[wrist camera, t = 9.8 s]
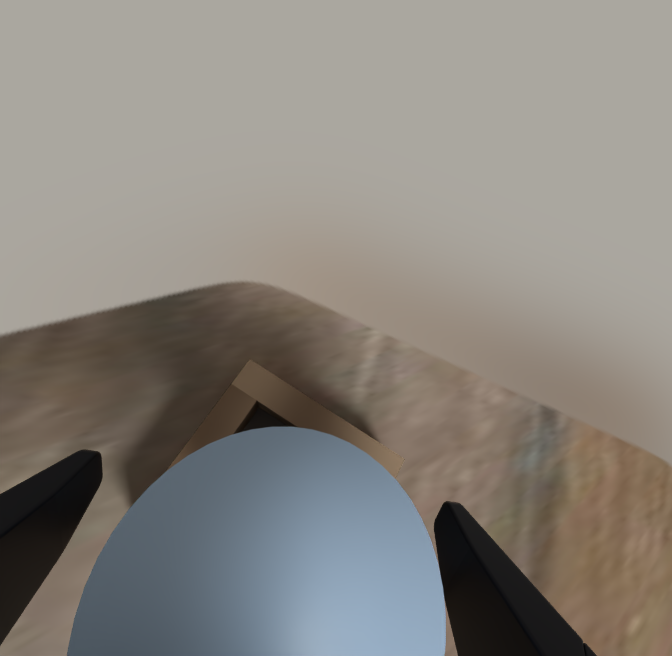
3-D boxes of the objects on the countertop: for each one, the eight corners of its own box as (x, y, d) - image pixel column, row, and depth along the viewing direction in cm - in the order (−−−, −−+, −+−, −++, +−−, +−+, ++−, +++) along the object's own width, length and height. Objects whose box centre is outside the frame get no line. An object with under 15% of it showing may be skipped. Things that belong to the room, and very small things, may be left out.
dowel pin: (334, 494, 16) (509, 614, 4) (264, 566, 14) (232, 1055, 3) (280, 427, 16) (298, 365, 5) (208, 489, 15) (-19, 619, 3)
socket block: (386, 458, 17) (404, 459, 14) (298, 638, 14) (303, 675, 11) (253, 371, 17) (249, 358, 15) (137, 528, 14) (111, 544, 12)
